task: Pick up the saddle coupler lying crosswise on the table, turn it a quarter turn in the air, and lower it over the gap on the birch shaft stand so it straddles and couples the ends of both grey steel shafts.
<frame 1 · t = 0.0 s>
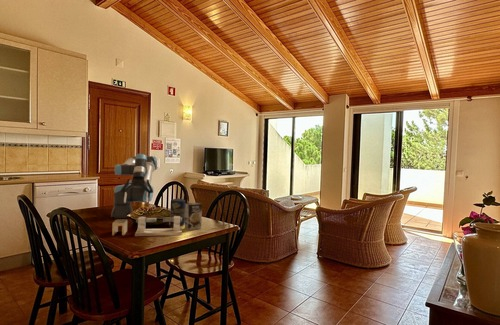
hand: (135, 201, 193), 15 cm above the table, tool tilted 35°, fingers open, 13 cm apart
coffee box: (193, 228, 189), on the table
canister: (177, 225, 198), on the table
shaft rig: (159, 233, 176), on the table
coupler: (119, 233, 174), on the table
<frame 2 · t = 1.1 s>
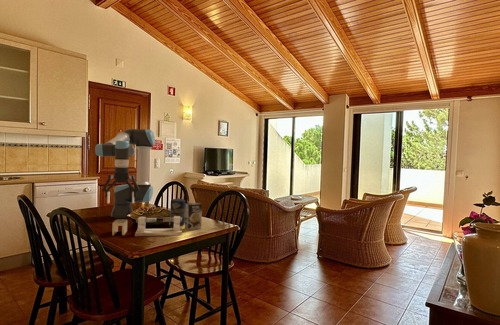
hand: (120, 203, 174), 18 cm above the table, tool pointing down, fingers open, 13 cm apart
nothing on the table moved.
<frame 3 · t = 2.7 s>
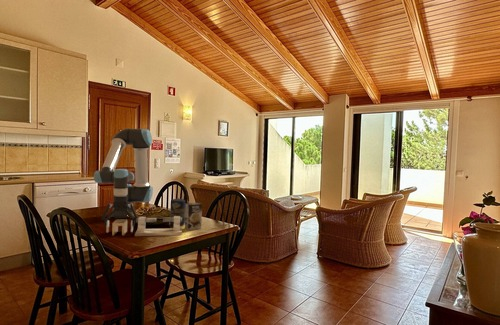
hand: (119, 231, 174), 1 cm above the table, tool pointing down, fingers open, 12 cm apart
nothing on the table moved.
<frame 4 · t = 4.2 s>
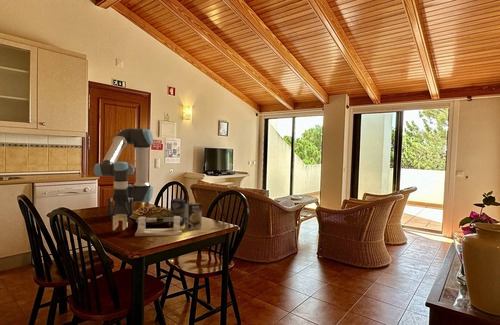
hand: (120, 227, 175), 3 cm above the table, tool pointing down, fingers closed on coupler, 6 cm apart
coupler: (120, 227, 175), point 3 cm above the table, touching gripper
everything else where it was.
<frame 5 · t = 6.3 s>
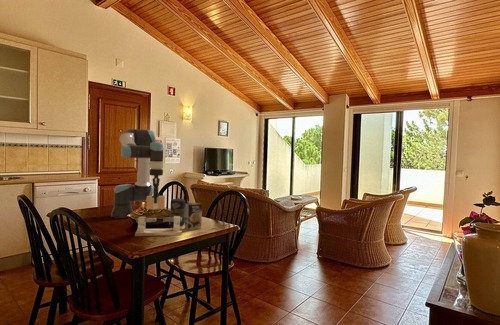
hand: (155, 207, 175), 15 cm above the table, tool pointing down, fingers closed on coupler, 6 cm apart
coupler: (155, 208, 175), point 15 cm above the table, touching gripper
everything else where it was.
when the fingers open (4 cm above the table, at t = 8.7 s): coupler stays where it is, resting on shaft rig.
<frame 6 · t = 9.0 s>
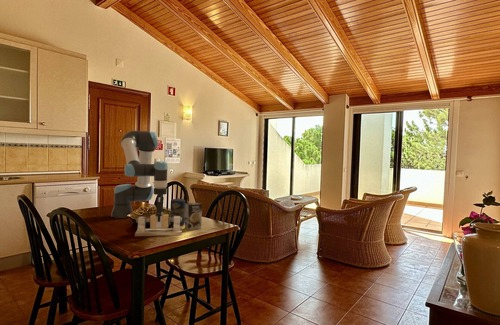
hand: (159, 224, 176), 5 cm above the table, tool pointing down, fingers open, 10 cm apart
coupler: (159, 227, 176), point 4 cm above the table, touching shaft rig
everything else where it was.
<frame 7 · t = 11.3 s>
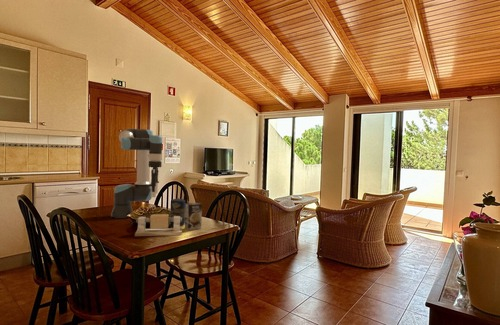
hand: (154, 195, 182), 22 cm above the table, tool pointing down, fingers open, 13 cm apart
nothing on the table moved.
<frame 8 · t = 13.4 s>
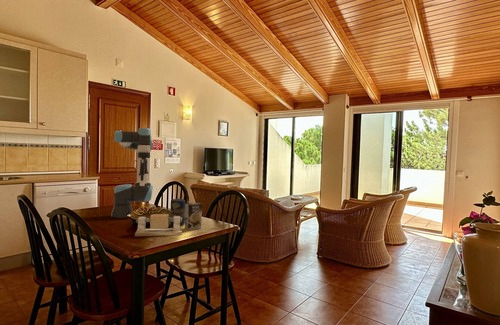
hand: (143, 184, 192), 27 cm above the table, tool pointing down, fingers open, 13 cm apart
nothing on the table moved.
at the end: coupler 0.1 cm off-centre on the shaft rig, point 3.7 cm above the shaft rig's base; coupler tilted 0°; the gripper is holding nothing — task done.
